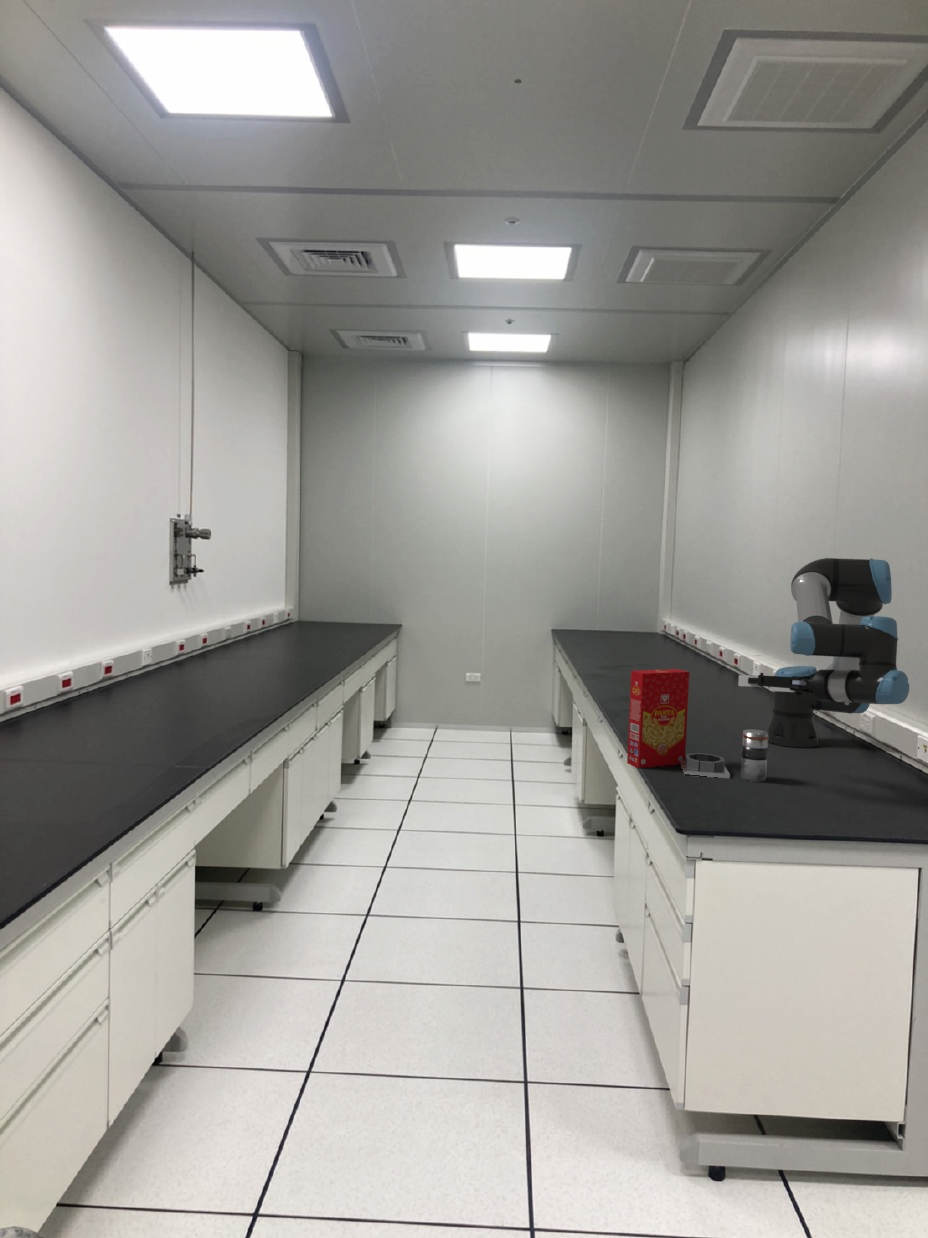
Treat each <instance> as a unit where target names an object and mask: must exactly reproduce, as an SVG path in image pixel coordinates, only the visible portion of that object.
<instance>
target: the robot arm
mask: <svg viewBox="0 0 928 1238" xmlns="http://www.w3.org/2000/svg"><path fill="white" fill-rule="evenodd" d="M790 583H791V585H790V590H791V592H790V593H791V595H792V598H793V599H794V601H796V610H797V611H796V612H797V621H796V622H793V623H792V625H791V628H790V639H789V640H790V641H789V643H790V644H789V645H790V646H789V648H790V651H791V652H792V653H793V654H795V655H802V656H806V657H810V656H812V657H813V656H816V657H832V663H831V664H829V665H828V666H827V667H826V668H825V669H819V670H818V669H817V668H816V666H812V665H796V666H795V665H793V666H785V667H781V668H778V669H777V670H776V671H775V673H774V675H764V672H760V674H758V675H752V674H751V675H748V674H747V675H745V674H740V675H738V682H737V683H738V685H737V686H738V687H748V688H750V687H751V688H763V687H767V688H769V687H770V692H773V700H772V714H771V717H770V720H769V722H768V725H767V728H766V729H765V731H766V732H768V733H769V734H768V735H769V739H768V743H770V744H773V743H774V745H778V746H784V747H791V748H815V747H817V746H819V736H818V732H817V731H818V730H817V729H816V728H817V727H816V725H815V722H814V714H815V711H820V712H821V711H823V712H833V713H844V714H851V715H852V714H863V713H866V711H867V710H868V709H869V707H870V706H871V705H883V706H884V705H900V704H902V703H903V702H905V701H906V700H907V698H908V696H909V692H910V684H909V683H910V682H909V678H908V675H907V674H906V673H905V672H904V671H902V670H898V667H897V657H898V656H897V654H898V640H899V638H898V623H897V620H896V619H894V618H893V617H889V616H881V615H880V616H879V615H877V614H878V613H880V612H881V611H882V609H883V605H888V604H891V602H892V598H893V597H892V573H891V566H890V564H889V562H888V561H886V560H883V559H877V558H876V559H874V558H869V559H863V558H837V557H836V558H833V557H826V558H820V559H815V560H813V561H811V562H809V563H807V564H805V565H803V566H802V567H801V568H800V569H799V570H798V571H796V573H795V575H794V576H793V578H792V580H791V582H790ZM830 602H835V605H836V607H837V608H838V609H839V610H840V611H839V617H838V623H834V621H833V618H832V611H831V606H830ZM875 615H876V616H875Z"/></svg>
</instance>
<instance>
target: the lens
mask: <svg viewBox="0 0 928 1238" xmlns="http://www.w3.org/2000/svg"><path fill="white" fill-rule="evenodd" d="M742 732H743V733H742V743H741V755H740V757H741V767H740V779H741V778H742V780H743V779H746V780H749V781H748V782H752V781H754V782H753V783H763V782H762V781H764V782H766V781H767V767H768V759H769V742H768V739H769V735H768V734H769V733H768V732H766V730H762V729H753V728H752V729H744V730H743V731H742ZM746 780H745V781H746ZM765 780H766V781H765Z"/></svg>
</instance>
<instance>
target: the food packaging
mask: <svg viewBox="0 0 928 1238" xmlns="http://www.w3.org/2000/svg"><path fill="white" fill-rule="evenodd" d="M689 686H690V671H688V670H683V669H682V670H681V669H677V668H674V669H672V668H671V669H648V670H647V669H645V670H642V669H641V670H630V689H629V690H630V692H629V693H630V697H629V713H628V714H629V715H628V716H629V717H628V736H627V737H628V739H627V740H628V741H627V762H626V764H628V765H630V766H632V767H635V768H637V769H645V768H646V769H647V767H648V768H655V767H656V766H659V767H668V766H667V765H671V766H675V765H674V764H680V760H683V761H685V755H686V749H687V747H686V746H687V730H688V728H687V726H688V708H689V706H688V705H689V688H690V687H689ZM664 765H666V766H664ZM656 768H657V767H656Z"/></svg>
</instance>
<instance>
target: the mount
mask: <svg viewBox="0 0 928 1238" xmlns="http://www.w3.org/2000/svg"><path fill="white" fill-rule="evenodd" d="M680 765H681V766H680ZM680 765H679V766H680V767H681V770H682V769H683V770H682V772H684V773H683V775H684V774H690V775H700V776H707V777H706V778H714V777H718V778H719V779H730V777H731V774H730V772H729V771H728V768H727V767H726V760H725V759H724V757H723V756H721V755H720V756H719V755H715V754H712V753H701V752H698V753H697V752H694V753H686V754H685V761H683V760H680ZM718 778H717V779H718Z"/></svg>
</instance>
